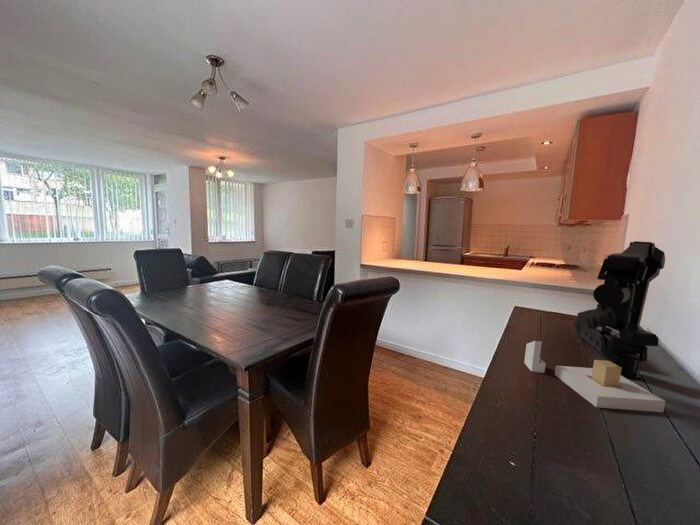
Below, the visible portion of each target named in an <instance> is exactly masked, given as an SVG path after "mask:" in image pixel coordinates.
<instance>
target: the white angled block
mask: <svg viewBox="0 0 700 525" xmlns="http://www.w3.org/2000/svg"><path fill="white" fill-rule="evenodd" d="M542 343H543V342H542V341H540V340H533V341H531V342H528V343H526V346H525V355H524V361H523V362H524V365H526V367H527V369H529V370H530V371H531V372H534V373H539V374H540V373H541V374H545V373H546V372H545V371H546V365H547V364H546V362H545V361H544V360H543V359H541V351H542Z"/></svg>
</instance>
